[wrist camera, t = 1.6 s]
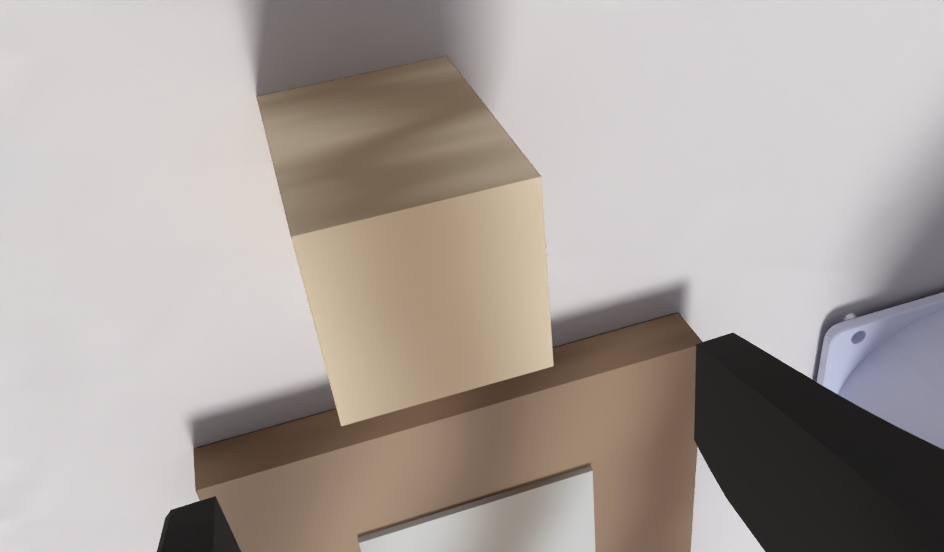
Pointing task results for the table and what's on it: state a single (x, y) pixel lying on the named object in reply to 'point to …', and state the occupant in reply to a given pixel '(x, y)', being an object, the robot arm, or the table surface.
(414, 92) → the maple block
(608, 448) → the walnut base
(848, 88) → the table surface
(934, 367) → the robot arm
